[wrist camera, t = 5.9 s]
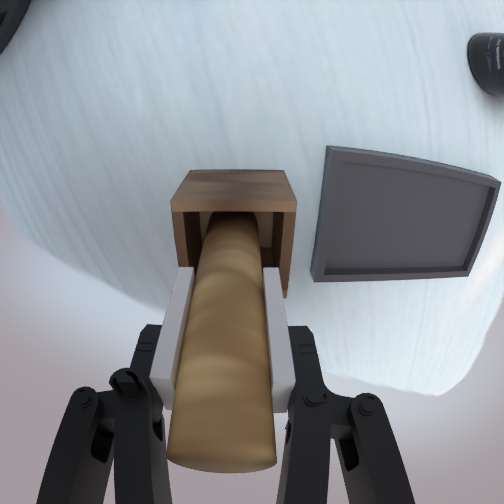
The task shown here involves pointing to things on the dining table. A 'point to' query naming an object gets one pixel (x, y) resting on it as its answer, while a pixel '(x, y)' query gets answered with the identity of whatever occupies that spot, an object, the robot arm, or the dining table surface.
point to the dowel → (225, 358)
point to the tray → (398, 217)
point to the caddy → (236, 199)
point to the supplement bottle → (488, 61)
